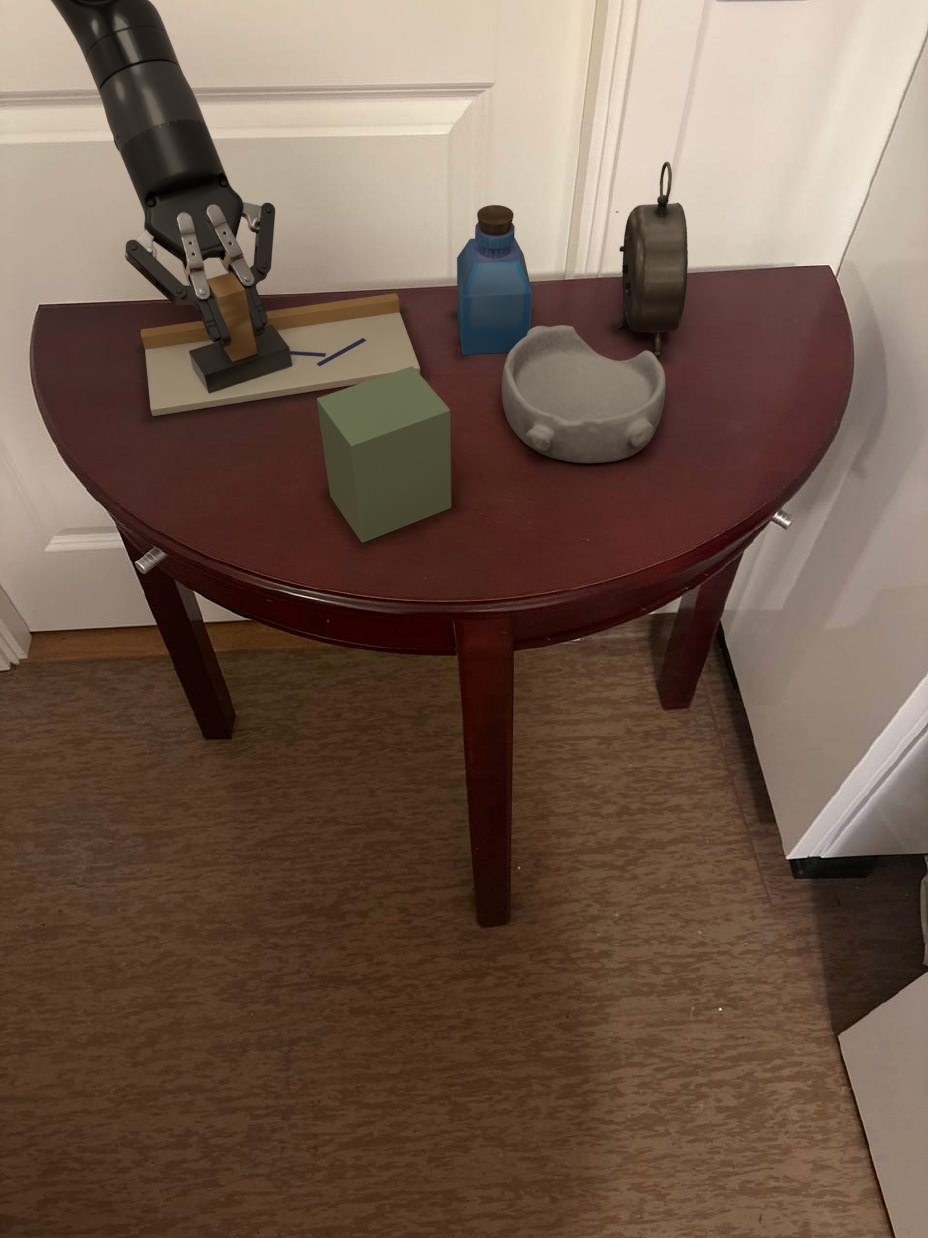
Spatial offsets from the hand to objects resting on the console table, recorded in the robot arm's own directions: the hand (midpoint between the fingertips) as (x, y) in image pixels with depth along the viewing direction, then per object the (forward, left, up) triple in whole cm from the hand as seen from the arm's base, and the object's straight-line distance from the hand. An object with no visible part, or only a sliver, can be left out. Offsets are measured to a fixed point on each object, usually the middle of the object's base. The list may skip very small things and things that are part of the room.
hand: (243, 338), depth 87 cm
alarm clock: (+37, 0, -5) cm, 37 cm away
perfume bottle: (+23, +3, -5) cm, 24 cm away
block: (+9, -17, -5) cm, 20 cm away
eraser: (-1, +2, -4) cm, 5 cm away
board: (+3, +3, -5) cm, 7 cm away
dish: (+27, -11, -5) cm, 30 cm away
